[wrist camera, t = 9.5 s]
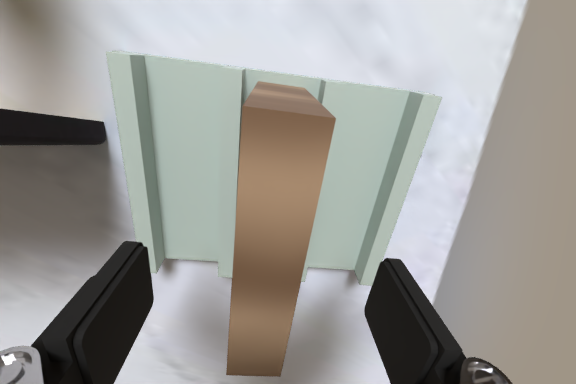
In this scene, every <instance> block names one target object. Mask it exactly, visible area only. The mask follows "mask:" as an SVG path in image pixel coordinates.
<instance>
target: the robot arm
mask: <svg viewBox="0 0 576 384" xmlns="http://www.w3.org/2000/svg"><path fill="white" fill-rule="evenodd" d="M152 305H153V289H152V280H151V272H150V263H149V254H148V248H147V247H146V246H143V243H142V242H131V241H125V242H123V243H122V245H121V246H120V247H119V248H118V249H117V250H116V252H115V253H114V254H113V255H112V256H111V257H110V259H109V260H108V261H107V262H106V263H105V265H104V266H103V267H102V268H101V269H100V270H99V272H98V273H97V274H96V275H95V276H93V277H91V278H90V279H89V280H87V282H86V283H85V284H84V285H83V286H82V287H81V289H80V290H79V291H78V292H77V293H76V294H75V295H74V297H73V298H72V299H71V300H70V301H69V302H68V304H67V305H66V306H65V307H64V308H63V309H62V311H61V312H60V313H59V314H58V315H57V316H56V317H55V319H54V320H53V321H52V322H51V323H50V324H49V326H48V327H47V328H46V329H45V330H44V331H43V332H42V334H41V335H40V336H39V337H38V338H37V339H36V341H35V342H34V343H33V344H32V345H31V346H18V347H12V348H9V349H6V350H3V351H0V384H114V382H115V380H116V378H117V376H118V374H119V372H120V370H121V368H122V366H123V364H124V362H125V360H126V358H127V356H128V354H129V352H130V350H131V348H132V346H133V344H134V342H135V340H136V338H137V336H138V334H139V332H140V330H141V328H142V326H143V324H144V322H145V320H146V318H147V316H148V314H149V312H150V310H151V307H152ZM365 317H366V319H367V322H368V325H369V327H370V330H371V333H372V335H373V338H374V340H375V343H376V346H377V348H378V351H379V354H380V356H381V359H382V362H383V364H384V367H385V369H386V372H387V375H388V377H389V380H390V383H391V384H512V382H511V381H510V380H509V379H508V377H507V376H506V375H505V374H504V373H503V372H502V371H501V370H499V369H498V368H497V367H495V366H494V365H492V364H491V363H489V362H487V361H485V360H483V359H480V358H476V357H469V358H466V357H465V355H464V354H463V352H462V349H461V347H460V346H459V344H458V343H457V341H456V340H455V339H454V337H453V336H452V334H451V333H450V331H449V330H448V328H447V327H446V325H445V324H444V322H443V321H442V319H441V318H440V316H439V315H438V314H437V312H436V311H435V309H434V308H433V306H432V305H431V303H430V302H429V300H428V299H427V297H426V296H425V294H424V293H423V291H422V290H421V288H420V287H419V286H418V284H417V283H416V281H415V280H414V278H413V277H412V275H411V274H410V272H409V271H408V269H407V268H406V266H405V265H404V263H403V262H402V261H401V260H400V259H391V258H386V259H384V261H382V262H380V264H379V267H378V270H377V273H376V276H375V279H374V282H373V285H372V288H371V291H370V294H369V296H368V299H367V302H366V305H365Z"/></svg>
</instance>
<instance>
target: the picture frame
mask: <svg viewBox="0 0 576 384" xmlns="http://www.w3.org/2000/svg"><path fill="white" fill-rule="evenodd" d="M104 141H105V128H104V122H101V121H93V120H85V119H77V118H70V117H62V116H54V115H46V114H38V113H30V112H23V111H15V110H7V109H0V145H97V144H101V143H103V142H104Z"/></svg>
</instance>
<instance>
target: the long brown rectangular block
mask: <svg viewBox="0 0 576 384" xmlns="http://www.w3.org/2000/svg"><path fill="white" fill-rule="evenodd" d="M335 122H336V118H335V117H334V116H333V115H332V114H331V113H330V112H329V111H328V110H327V109H326V108H325V107H324V106H323V105H322V104H321V103H320V102H319V101H318V100H317V99H316V98H315V97H314V96H313V95H312V94H311V93H310V92H308V91H307V90H306V89H305V88H303V87H296V86H289V85H282V84H275V83H268V82H261V81H258V82H257V84H256V85H255V87H254V88H253V90H252V92H251V93H250V95H249V96H248V98H247V99H246V101H245V103H244V104H243V106H242V123H241V139H240V156H239V173H238V189H237V206H236V222H235V239H234V256H233V272H232V289H231V306H230V322H229V339H228V355H227V372H226V375H242V376H279V377H280V376H281V371H282V367H283V362H284V357H285V353H286V348H287V344H288V339H289V334H290V330H291V325H292V320H293V316H294V311H295V307H296V302H297V297H298V293H299V288H300V283H301V279H302V274H303V270H304V265H305V260H306V256H307V251H308V246H309V242H310V237H311V233H312V228H313V223H314V219H315V214H316V209H317V205H318V200H319V196H320V191H321V186H322V182H323V177H324V172H325V168H326V163H327V159H328V154H329V149H330V145H331V140H332V135H333V131H334V126H335Z"/></svg>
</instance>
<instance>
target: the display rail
mask: <svg viewBox="0 0 576 384" xmlns="http://www.w3.org/2000/svg"><path fill="white" fill-rule="evenodd" d="M106 56H107V62H108V68H109V75H110V81H111V87H112V94H113V100H114V106H115V113H116V119H117V125H118V131H119V138H120V144H121V150H122V157H123V163H124V169H125V175H126V182H127V188H128V194H129V201H130V207H131V213H132V219H133V226H134V232H135V238H136V242H142V243H143V246H146V247H147V248H148V254H149V263H150V272H151V273H157V272H158V270H159V268H160V266H161V264H162V263H163V261H164V259H165V258H170V259H186V260H202V261H218V277H229V278H232V272H233V256H234V239H235V222H236V206H237V189H238V173H239V156H240V139H241V123H242V106H243V104H244V103H245V101H246V99H247V98H248V96H249V95H250V93H251V92H252V90H253V88H254V87H255V85H256V84H257V82H258V81H261V82H268V83H275V84H282V85H289V86H296V87H303V88H305V89H306V90H307V91H308V92H310V93H311V94H312V95H313V96H314V97H315V98H316V99H317V100H318V101H319V102H320V103H321V104H322V105H323V106H324V107H325V108H326V109H327V110H328V111H329V112H330V113H331V114H332V115H333V116H334V117H335V118H336V122H335V126H334V131H333V135H332V140H331V145H330V149H329V154H328V159H327V163H326V168H325V172H324V177H323V182H322V186H321V191H320V196H319V200H318V205H317V209H316V214H315V219H314V223H313V228H312V233H311V237H310V242H309V246H308V251H307V256H306V260H305V265H304V270H303V274H302V279H301V282H305V279H306V274H307V269H308V267H314V268H330V269H346V270H354V271H355V274H356V276H357V279H358V282H359V284H360V285H369V286H372V285H373V282H374V279H375V276H376V273H377V270H378V267H379V264H380V262H382V260H383V257H384V255H385V252H386V249H387V246H388V244H389V241H390V238H391V236H392V233H393V230H394V227H395V225H396V222H397V219H398V217H399V214H400V211H401V208H402V206H403V203H404V200H405V197H406V195H407V192H408V189H409V187H410V184H411V181H412V178H413V176H414V173H415V170H416V168H417V165H418V162H419V159H420V157H421V154H422V151H423V148H424V146H425V143H426V140H427V138H428V135H429V132H430V129H431V127H432V124H433V121H434V119H435V116H436V113H437V110H438V108H439V105H440V102H441V99H442V97H439V96H435V95H434V94H430V93H425V92H419V91H411V90H404V89H397V88H389V87H382V86H375V85H367V84H360V83H353V82H346V81H338V80H331V79H324V78H316V77H309V76H302V75H294V74H287V73H280V72H272V71H265V70H258V69H250V68H243V67H236V66H229V65H221V64H214V63H207V62H199V61H192V60H185V59H177V58H170V57H163V56H155V55H148V54H141V53H133V52H126V51H112V52H106Z"/></svg>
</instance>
